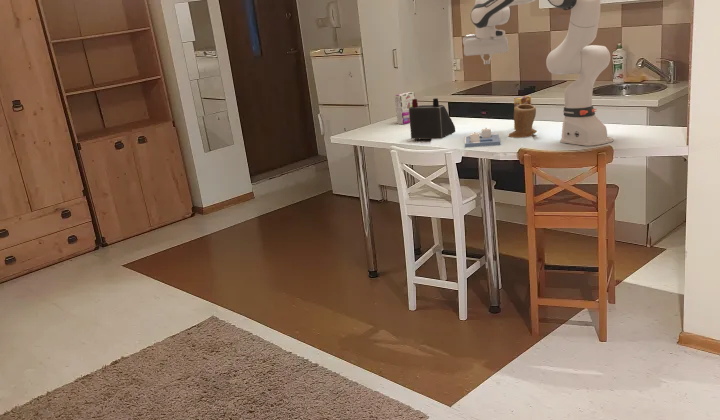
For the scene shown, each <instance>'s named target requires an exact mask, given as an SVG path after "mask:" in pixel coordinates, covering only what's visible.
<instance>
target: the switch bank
mask: <svg viewBox="0 0 720 420" xmlns="http://www.w3.org/2000/svg"><path fill="white" fill-rule="evenodd" d="M491 146H501V139H500V135H499V134H491V138H482V135H480V142H471V143H470V135H469V136H466V135H465V136H464V148H476V147H491Z"/></svg>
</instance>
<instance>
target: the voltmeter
mask: <svg viewBox="0 0 720 420" xmlns="http://www.w3.org/2000/svg"><path fill="white" fill-rule="evenodd" d="M432 101H433V102H432V105H430V104H427V105H418V99H417V98H415V99H412V107H410V108H409V117H410V123H409V129H410V139H412V140H413V139H414V141H415V142H419V141H420V139H423V140H424V139H425V140H426V139H427V140H429V139H430V140H432V139H434V140H436V139H438V140H439V139H441V140H442V139H444V138H447V137H448V136H450V135H451V136H452V135H453V134H455V133H456V126H455V124H454V122H453V120H452V118H451V116H450V114H449V112H448V109H447V108H446V106H445V105H444V104H443V105H442V104H440V103H439V99H438V97H437V98H433V99H432Z"/></svg>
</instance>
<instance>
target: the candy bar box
mask: <svg viewBox="0 0 720 420" xmlns="http://www.w3.org/2000/svg"><path fill="white" fill-rule="evenodd" d="M412 99H416V97H415V92H412V91H409V92H408V91H407V92H403V93H399V94H395V95H394V101H395V110H396V111H395V112H396V120H397V121H396V122H397V124H398V125H403V126H405V125H407V124H410V117H409V108H410V107H412Z"/></svg>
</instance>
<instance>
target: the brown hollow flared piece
mask: <svg viewBox="0 0 720 420" xmlns="http://www.w3.org/2000/svg"><path fill="white" fill-rule="evenodd" d="M513 109H514V108H513ZM536 114H537V108H536V106H535V105H532V104H531V105H530V104H520V105H517V106H516V107H515V109H514V110H513V123H514V122H515V127H516V130H514V131H512V132H511V133H509V134H508V135H507V136H508V137H509V138H527V137H529V136H533V135H535V134H536V133H537V130H536V129H534V128H533V124H534V121H535V118H536Z"/></svg>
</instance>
